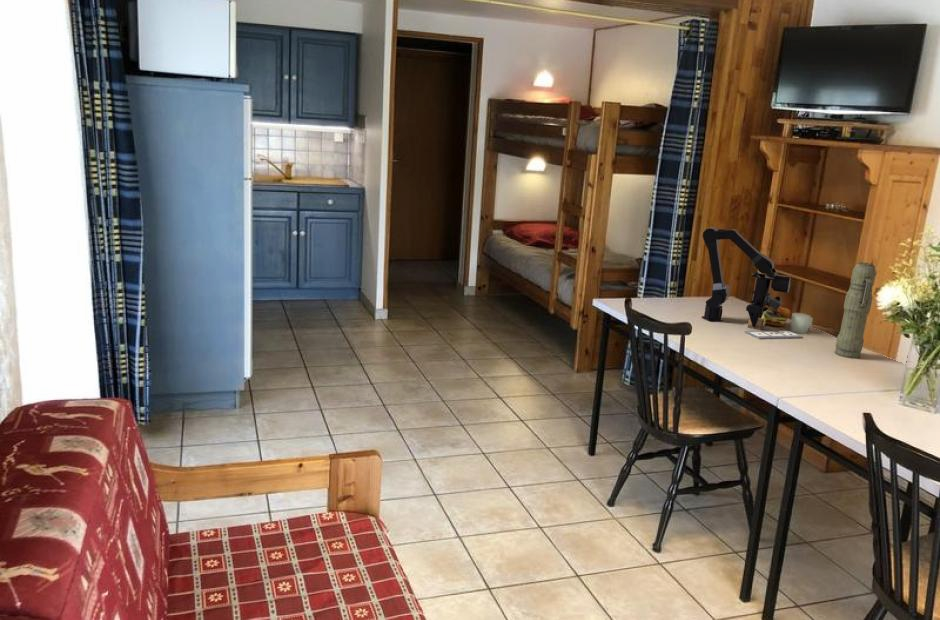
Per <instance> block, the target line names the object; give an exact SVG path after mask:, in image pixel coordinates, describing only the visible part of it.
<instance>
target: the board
mask: <svg viewBox="0 0 940 620" xmlns="http://www.w3.org/2000/svg"><path fill="white" fill-rule="evenodd" d="M744 333H745V334H747V335H749V336H751V337H753V338H756V339H758V340H776V339H777V340H779V339H780V340H782V339H786V338H788V339H804V336H802V335H801V334H799V333H795V332H792V331H790V330H788V329H787V330H785V329H784V330H745V331H744Z"/></svg>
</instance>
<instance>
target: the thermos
mask: <svg viewBox="0 0 940 620" xmlns="http://www.w3.org/2000/svg"><path fill="white" fill-rule="evenodd" d="M876 275H877V273H876V266H875V265H874V264H873V263H868V262H862V261H861V262H859V263H856V264H855V266H854V268H853V269H852V274H851V277H850V282H849V283H850V286H849V289H848V291H847V292H846V293H845V297H844V298H845V299H844V302H843V303H844V304H843V310H844V311H843V316H842V321H841V326H840V330H839V333H838V334H837V337H836V341H835V342H836V343H835V351H834V354H836V355H837V356H839V357H843V358H847V359H860V357H861V352H862V351H863V346H864V341H865V338H864V333H865V327H866V324H867V319H868V315H869V313H870V312H871V307H872V301H873V287H874V283H875V278H876Z"/></svg>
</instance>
